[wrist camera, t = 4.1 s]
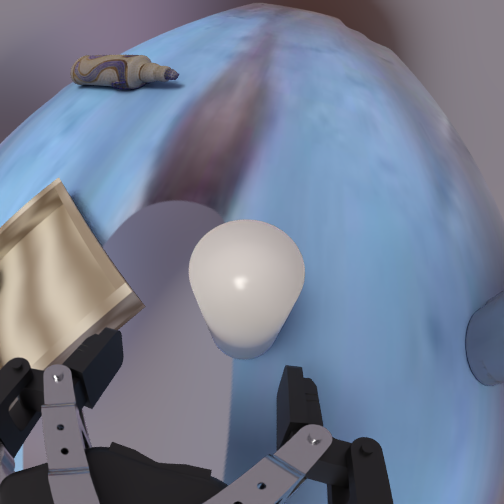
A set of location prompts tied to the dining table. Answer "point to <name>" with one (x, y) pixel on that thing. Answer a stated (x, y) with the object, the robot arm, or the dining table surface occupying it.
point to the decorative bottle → (119, 71)
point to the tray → (56, 282)
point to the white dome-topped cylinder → (246, 284)
